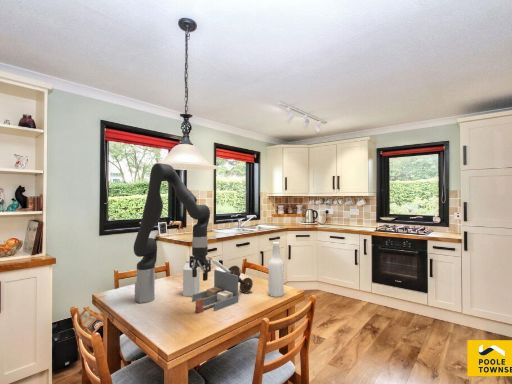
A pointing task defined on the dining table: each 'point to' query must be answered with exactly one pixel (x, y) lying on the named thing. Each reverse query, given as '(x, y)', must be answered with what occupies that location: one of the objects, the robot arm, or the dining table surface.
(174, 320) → the dining table surface
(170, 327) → the dining table surface
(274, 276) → the alcohol
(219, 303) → the lane rack
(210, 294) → the walnut block
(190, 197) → the robot arm
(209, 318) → the dining table surface
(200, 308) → the corded block
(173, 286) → the dining table surface
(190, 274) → the milk carton
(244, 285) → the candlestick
